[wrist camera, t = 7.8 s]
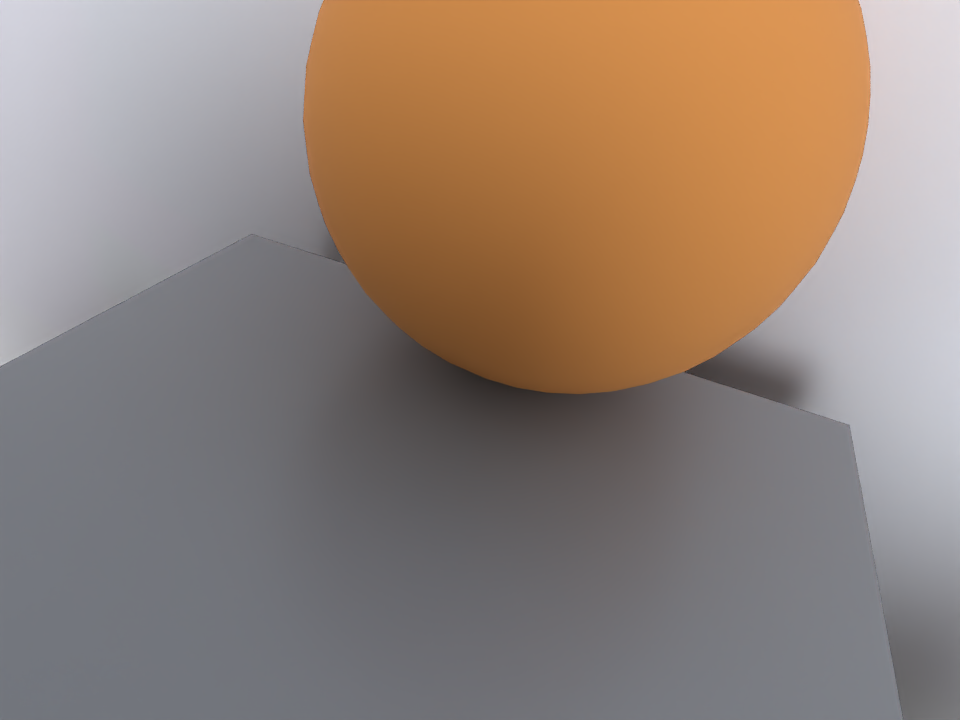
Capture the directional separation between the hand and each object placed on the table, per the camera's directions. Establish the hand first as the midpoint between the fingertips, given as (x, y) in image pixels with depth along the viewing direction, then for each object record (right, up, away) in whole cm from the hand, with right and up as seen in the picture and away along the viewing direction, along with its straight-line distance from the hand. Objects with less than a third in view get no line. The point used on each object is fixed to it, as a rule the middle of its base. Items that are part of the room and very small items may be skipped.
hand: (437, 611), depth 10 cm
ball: (+1, +6, -3) cm, 6 cm away
